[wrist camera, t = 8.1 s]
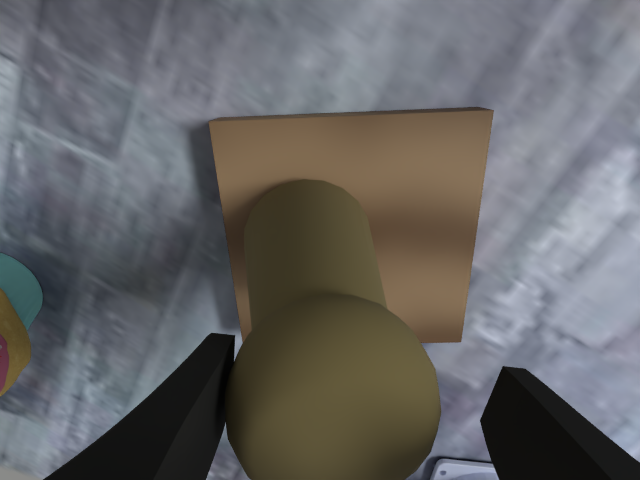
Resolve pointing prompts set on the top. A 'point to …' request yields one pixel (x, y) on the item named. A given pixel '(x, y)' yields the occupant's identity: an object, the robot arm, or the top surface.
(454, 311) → the walnut board
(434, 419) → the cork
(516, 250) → the top surface
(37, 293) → the cupcake
